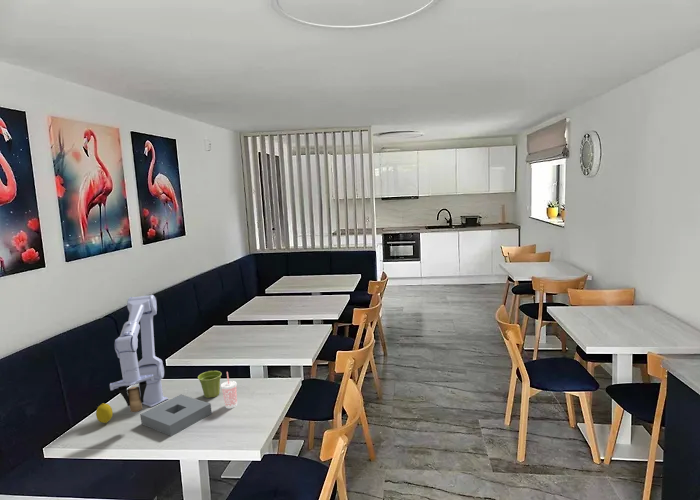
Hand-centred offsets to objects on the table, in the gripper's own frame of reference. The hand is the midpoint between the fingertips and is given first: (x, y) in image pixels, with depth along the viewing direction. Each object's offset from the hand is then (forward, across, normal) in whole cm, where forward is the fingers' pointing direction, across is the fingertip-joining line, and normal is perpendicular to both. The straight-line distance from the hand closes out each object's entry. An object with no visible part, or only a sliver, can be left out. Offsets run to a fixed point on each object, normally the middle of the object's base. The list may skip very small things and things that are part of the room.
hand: (135, 403), depth 178 cm
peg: (+2, 0, 0) cm, 2 cm away
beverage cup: (+10, +33, -2) cm, 35 cm away
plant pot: (+10, +28, +12) cm, 32 cm away
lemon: (+10, -11, +11) cm, 18 cm away
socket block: (+9, +13, -2) cm, 16 cm away
